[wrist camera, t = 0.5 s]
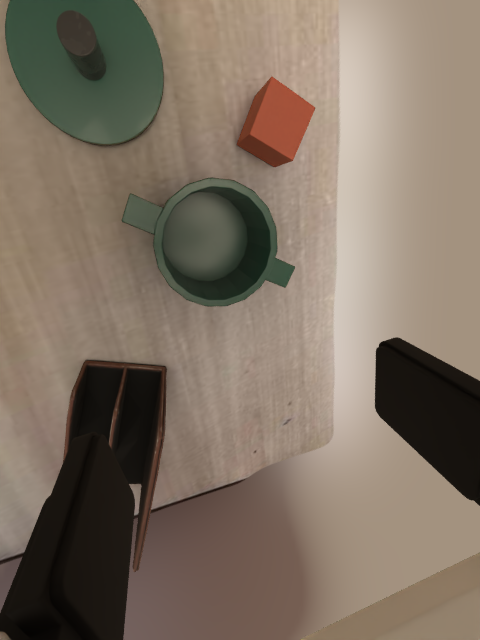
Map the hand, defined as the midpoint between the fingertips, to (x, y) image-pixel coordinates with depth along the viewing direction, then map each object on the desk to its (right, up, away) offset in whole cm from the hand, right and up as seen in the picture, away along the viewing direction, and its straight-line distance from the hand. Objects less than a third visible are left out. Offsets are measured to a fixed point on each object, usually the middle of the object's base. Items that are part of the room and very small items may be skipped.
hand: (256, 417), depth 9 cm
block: (+2, +24, +22) cm, 32 cm away
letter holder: (-17, -11, +30) cm, 37 cm away
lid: (-14, +26, +16) cm, 33 cm away
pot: (-5, +13, +24) cm, 28 cm away
